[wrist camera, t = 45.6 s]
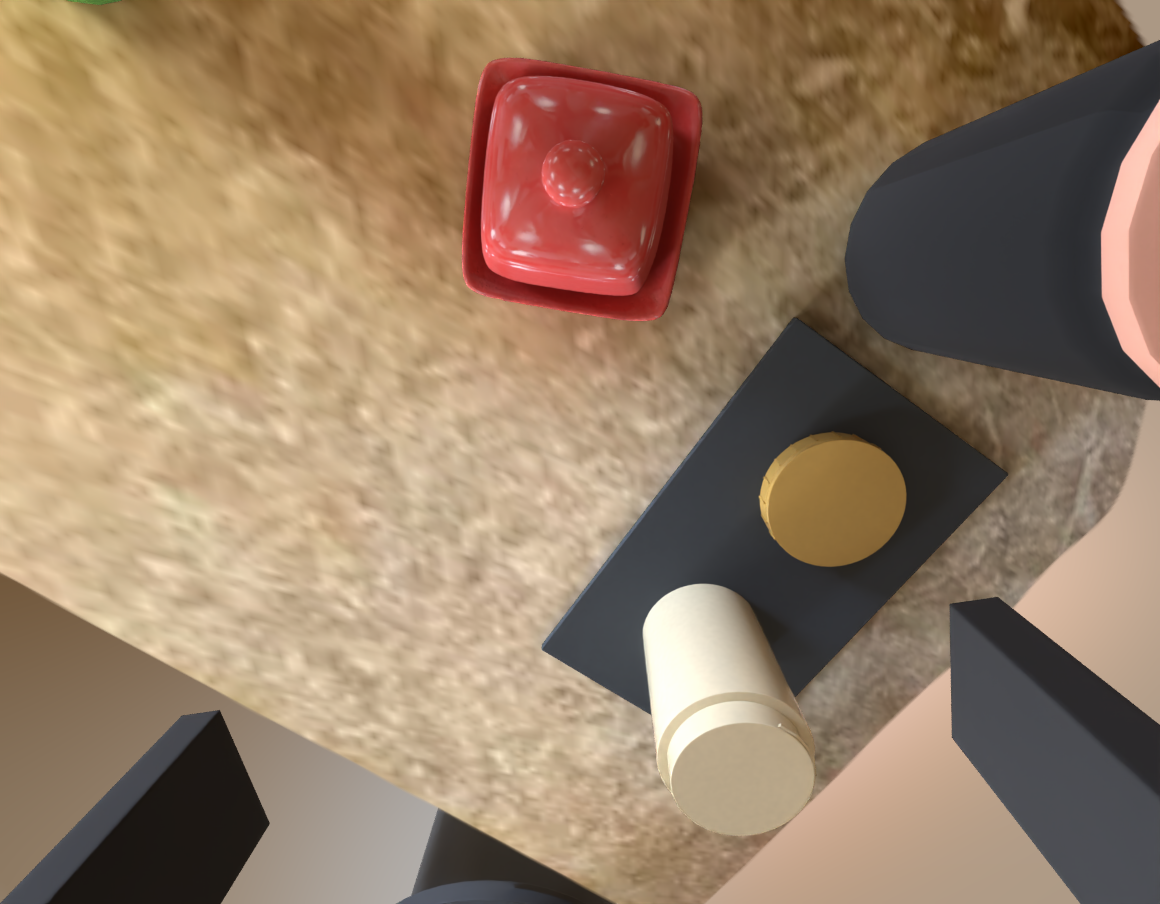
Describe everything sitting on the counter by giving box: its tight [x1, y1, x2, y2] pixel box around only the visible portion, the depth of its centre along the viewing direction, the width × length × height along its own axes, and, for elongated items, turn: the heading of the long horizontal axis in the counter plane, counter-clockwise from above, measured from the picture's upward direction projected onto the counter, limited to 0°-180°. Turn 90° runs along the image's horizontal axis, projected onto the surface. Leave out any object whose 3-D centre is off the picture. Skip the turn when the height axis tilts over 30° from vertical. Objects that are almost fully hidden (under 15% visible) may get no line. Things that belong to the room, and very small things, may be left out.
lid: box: [759, 431, 906, 567], centre depth 33 cm, size 8×8×2 cm
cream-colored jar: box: [642, 584, 816, 836], centre depth 32 cm, size 8×8×11 cm
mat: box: [542, 318, 1008, 714], centre depth 36 cm, size 26×16×1 cm, turn 146°
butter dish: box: [462, 58, 702, 321], centre depth 27 cm, size 12×12×8 cm
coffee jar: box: [845, 40, 1160, 401], centre depth 22 cm, size 11×11×18 cm
